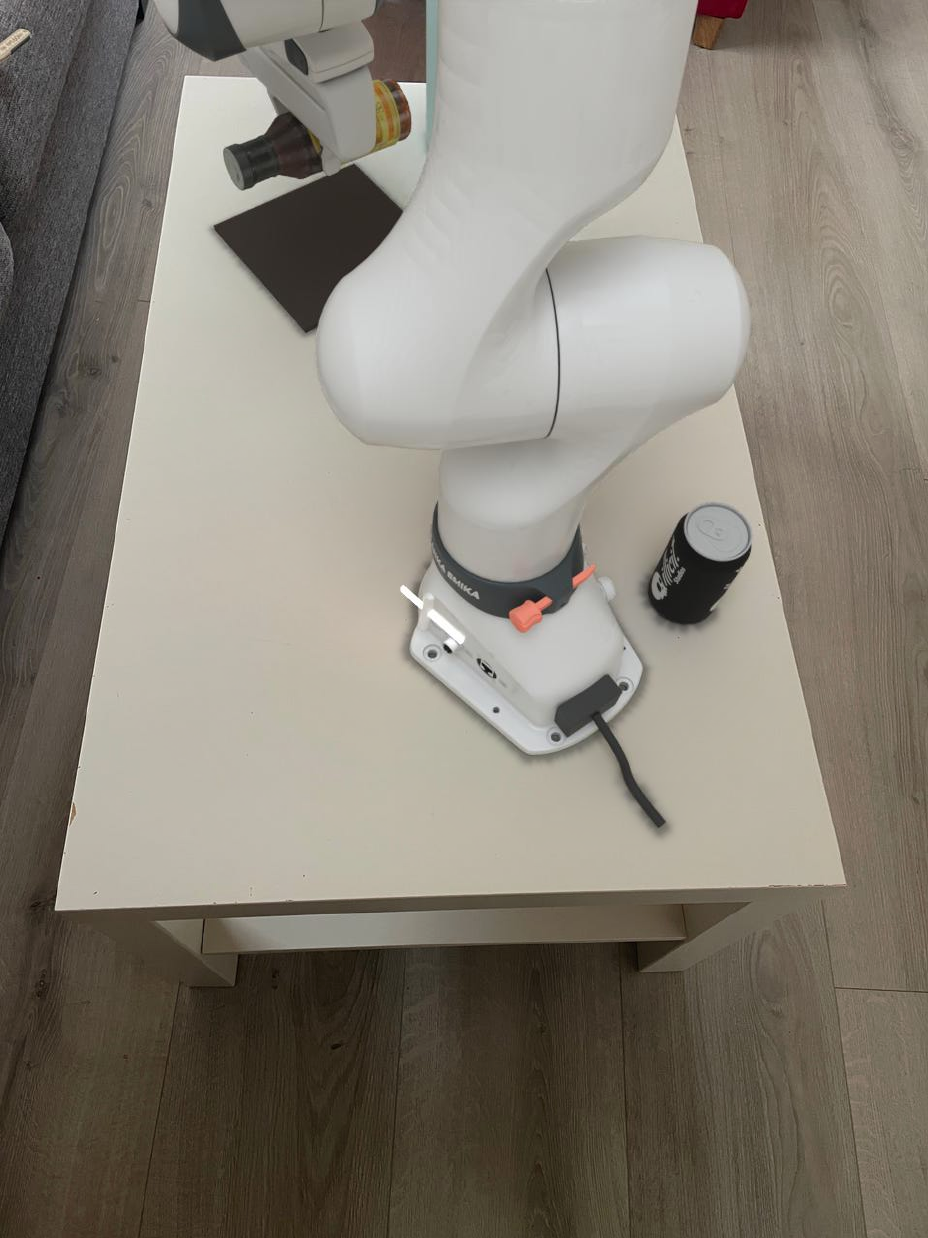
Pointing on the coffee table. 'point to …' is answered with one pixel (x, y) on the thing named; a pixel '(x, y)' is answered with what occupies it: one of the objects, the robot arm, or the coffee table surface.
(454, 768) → the coffee table surface
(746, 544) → the beverage can
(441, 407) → the robot arm
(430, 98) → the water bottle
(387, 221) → the mat
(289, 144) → the sauce bottle
